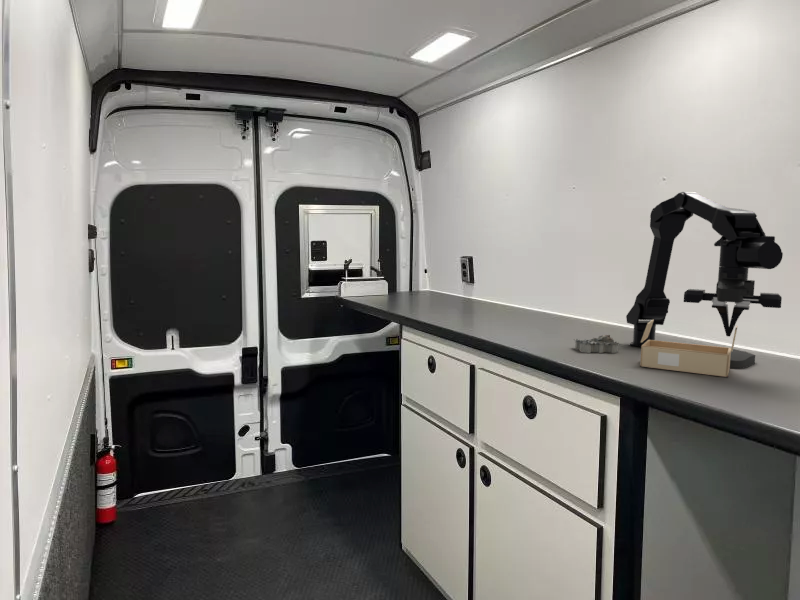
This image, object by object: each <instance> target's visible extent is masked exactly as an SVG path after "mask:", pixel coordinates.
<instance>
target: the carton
mask: <svg viewBox="0 0 800 600" xmlns="http://www.w3.org/2000/svg"><path fill="white" fill-rule="evenodd" d="M731 348H732V347H727V346H717V345H716V346H715V345H708V344H707V345H706V344H705V345H704V344H695V343H694V344H693V343H686V342H685V343H684V342H674V341H665V340H664V341H663V340H656V339H655V340H647V341H646V342H645V343H644V344H643V345H642V346H641V347H640V362H639V363H640V365H639V366H640V367H641V368H650V369H656V370H658V369H659V370H667V371H674V372H682V373H690V374H698V375H708V376H714V377H715V376H716V377H723V378H728V377H729V374H730V369H731V368H730V357H731Z"/></svg>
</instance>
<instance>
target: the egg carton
mask: <svg viewBox="0 0 800 600" xmlns="http://www.w3.org/2000/svg"><path fill="white" fill-rule="evenodd" d="M573 340H574V343H575V345H574V349H575V350H578V351H579V352H581V353H585V354H586V353H587V354H591V353H599V354H603V353H609V354H610V353H611V354H616V353H619V352H618V351H619V345H620V343H619V342H617V341H615V340H614V339H613V337H611V335H610V334H608V335H607V334H604V335H603V334H602V335H599V336H598V337H592V338H588V339H587V338H584V339H578V338H576V339H575V338H574V339H573Z"/></svg>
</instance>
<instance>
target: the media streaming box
mask: <svg viewBox="0 0 800 600" xmlns="http://www.w3.org/2000/svg"><path fill="white" fill-rule="evenodd" d="M755 362H756V355H755V354H753V353H751V352H747V351H743V350H739V349H735V348H733V351H732V352H731V357H730V369H735V370H736V369H745V368H748V367H750V366H751V367H752V365H754V364H755Z"/></svg>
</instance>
